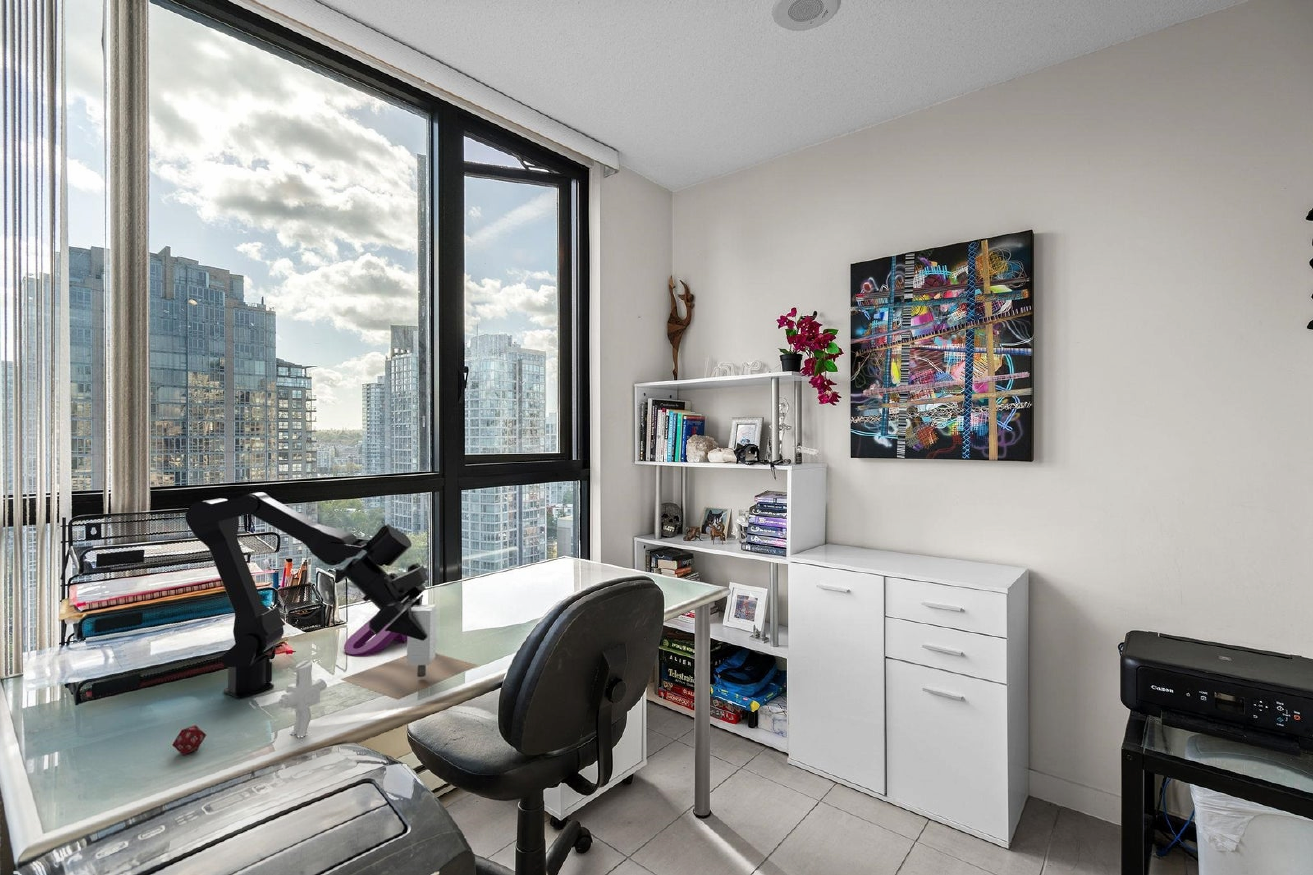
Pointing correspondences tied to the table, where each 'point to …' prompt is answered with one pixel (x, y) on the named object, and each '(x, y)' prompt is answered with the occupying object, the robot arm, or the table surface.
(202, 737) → the dice
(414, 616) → the block
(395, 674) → the stub board
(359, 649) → the mounting bracket
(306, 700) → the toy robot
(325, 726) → the table surface
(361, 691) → the table surface
